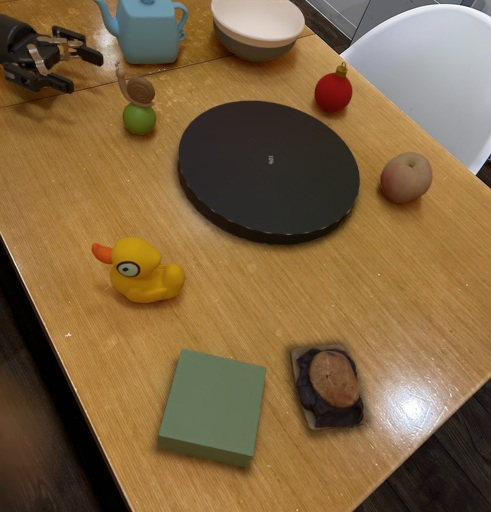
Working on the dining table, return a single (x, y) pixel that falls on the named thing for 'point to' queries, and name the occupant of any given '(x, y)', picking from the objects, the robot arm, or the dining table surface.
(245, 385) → the green block
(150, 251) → the duckling
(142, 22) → the teapot
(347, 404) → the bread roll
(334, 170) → the disc
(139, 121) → the snail figurine
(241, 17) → the bowl
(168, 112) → the dining table surface
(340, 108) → the christmas ornament
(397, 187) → the fruit
